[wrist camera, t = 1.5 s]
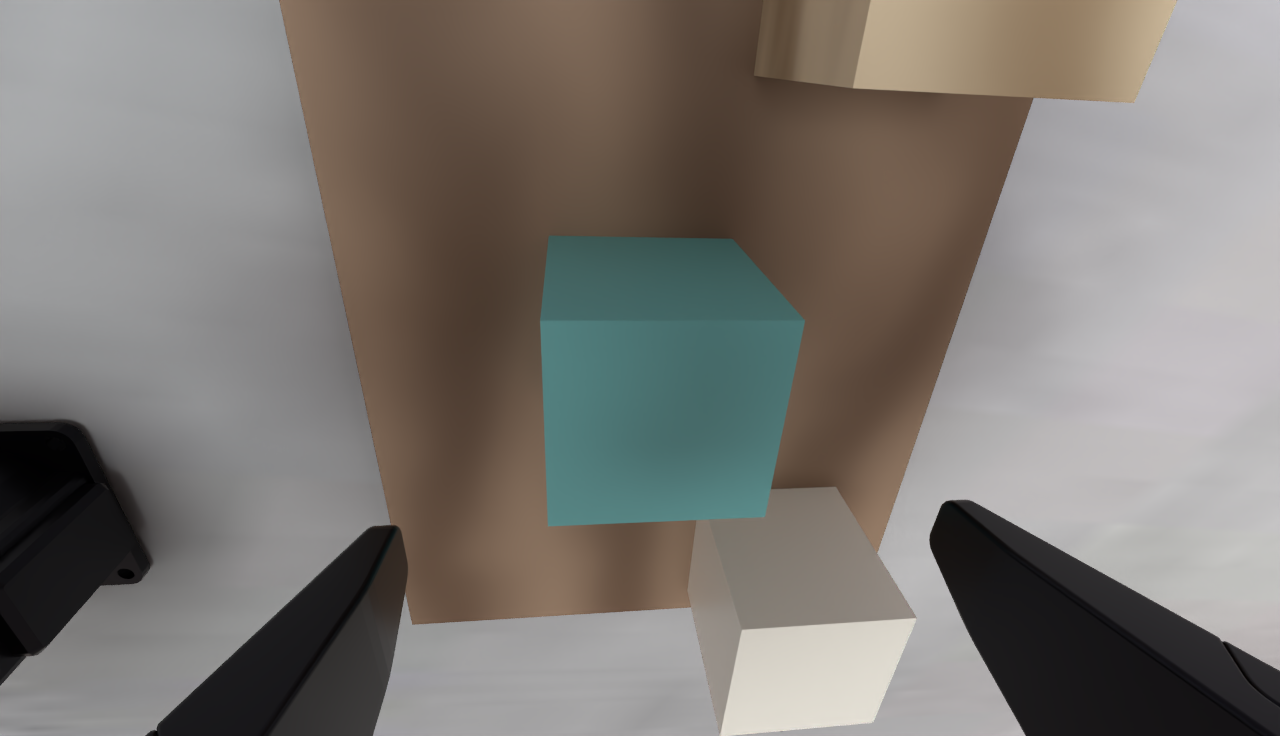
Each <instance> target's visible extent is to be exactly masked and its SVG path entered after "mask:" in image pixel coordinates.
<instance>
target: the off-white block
mask: <svg viewBox="0 0 1280 736" xmlns="http://www.w3.org/2000/svg"><path fill="white" fill-rule="evenodd" d="M687 591H688V595H689V600H690V604H691V609H692V613H693V618H694V622H695V627H696V631H697V636H698V640H699V645H700V649H701V654H702V658H703V663H704V667H705V671H706V676H707V680H708V685H709V689H710V694H711V698H712V703H713V707H714V712H715V716H716V721H717V725H718V730H719V734H720V736H731V735H742V734H753V733H764V732H775V731H786V730H797V729H808V728H819V727H831V726H842V725H853V724H864V723H873V721H874V719H875V717H876V714H877V712H878V709H879V707H880V705H881V702H882V700H883V698H884V695H885V693H886V690H887V688H888V686H889V683H890V681H891V679H892V676H893V674H894V671H895V669H896V667H897V664H898V662H899V660H900V657H901V655H902V652H903V650H904V648H905V645H906V643H907V641H908V638H909V636H910V633H911V631H912V629H913V626H914V624H915V622H916V619H917V617H916V616H915V614H914V612H913V611H912V609H911V608H910V606H909V604H908V603H907V601H906V600H905V598H904V596H903V595H902V593H901V591H900V590H899V588H898V587H897V585H896V583H895V582H894V580H893V578H892V577H891V575H890V574H889V572H888V570H887V569H886V567H885V566H884V564H883V562H882V561H881V559H880V557H879V556H878V554H877V553H876V551H875V549H874V548H873V546H872V545H871V543H870V541H869V540H868V538H867V536H866V535H865V533H864V532H863V530H862V528H861V527H860V525H859V523H858V522H857V520H856V519H855V517H854V515H853V514H852V512H851V511H850V509H849V507H848V506H847V504H846V502H845V501H844V499H843V498H842V496H841V494H840V493H839V491H838V490H837V488H836V487H818V488H791V489H771V490H770V495H769V500H768V505H767V509H766V514H765V517H756V518H732V519H709V520H696V528H695V535H694V543H693V551H692V559H691V566H690V574H689V582H688V590H687Z"/></svg>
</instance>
